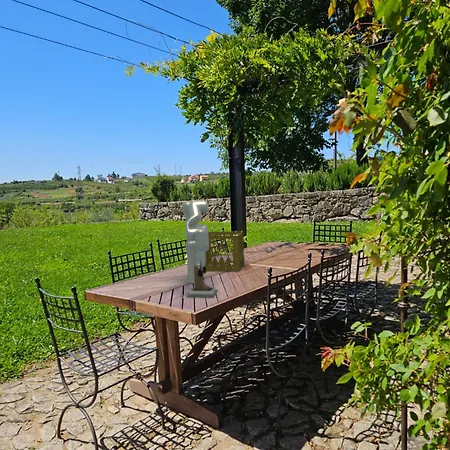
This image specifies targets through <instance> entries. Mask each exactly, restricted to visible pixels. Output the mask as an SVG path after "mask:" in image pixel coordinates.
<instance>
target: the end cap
mask: <svg viewBox="0 0 450 450" xmlns="http://www.w3.org/2000/svg"><path fill="white" fill-rule="evenodd" d="M218 292H219V291H218V289H217V288H216V287H215V286H212V287H211V286H210V291H195V286H193V287H191V289H189V291H188V294H187V295H186V298H195V299H197V298H198V299H199V298H201V299H203V298H204V299H205V298H207V299H214V298H215V296H216V295H217V293H218Z"/></svg>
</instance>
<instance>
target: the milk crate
mask: <svg viewBox="0 0 450 450" xmlns="http://www.w3.org/2000/svg"><path fill="white" fill-rule="evenodd" d="M208 236H209V250H208V251H206V272H240V271H241V269H242V268H243V266H244V265H242V264H245V255H244V254H245V253H244V252H245V247H244V230H242V231H241V230H240V231H234V230H233V231H208ZM217 240H218V241H217ZM224 243H225V244H226V245H224ZM218 244H219V245H218ZM221 250H222V253H221ZM229 250H230V251H229ZM214 251H215V253H214ZM228 251H229V252H228ZM217 258H218V259H217ZM225 258H226V260H225ZM230 263H233V268H232V266H231V264H230ZM241 267H242V268H241ZM225 268H227V269H225Z"/></svg>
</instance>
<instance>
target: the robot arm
mask: <svg viewBox="0 0 450 450" xmlns="http://www.w3.org/2000/svg"><path fill="white" fill-rule="evenodd" d="M209 209H210V208H209V203H208V201H206V200H187V201H184V202H182V203H181V210H182V213H183V216H184V219H185V226H184V233H185V238H186V239H187V240H186V242H185V245H184V246H185V251H186V259H187V260H186V263H187V279H186V280H185V282H186V283H188V284H195V281H194V266H195V265H196V267H197V266H198V277H203V278H204V274H206V273H207V271H206V251H208V250H209V236H208V232H209V228H208V226H207V224H205V223H203V224H199V223H200V222H201V221H202V220H203V216H202V213H209ZM202 268H203V270H202Z"/></svg>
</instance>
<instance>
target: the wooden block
mask: <svg viewBox="0 0 450 450" xmlns="http://www.w3.org/2000/svg"><path fill="white" fill-rule="evenodd" d="M202 270H203V268H202ZM204 279H205V277H204V276H203V277H198V266H197V267H196V265H195V266H194V281H195V283H194V287H195V291H210V287H211V286H210V285H207V284H206V283H205V280H204Z"/></svg>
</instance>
